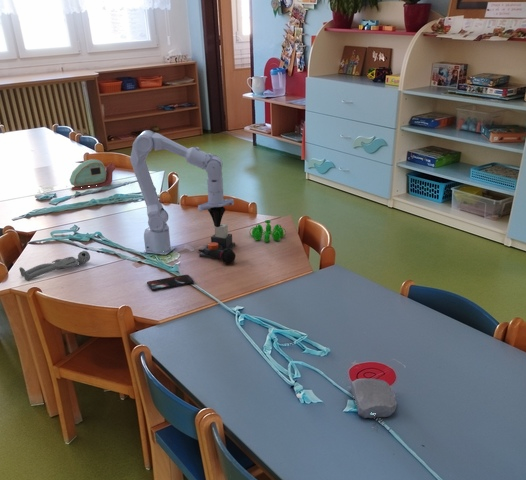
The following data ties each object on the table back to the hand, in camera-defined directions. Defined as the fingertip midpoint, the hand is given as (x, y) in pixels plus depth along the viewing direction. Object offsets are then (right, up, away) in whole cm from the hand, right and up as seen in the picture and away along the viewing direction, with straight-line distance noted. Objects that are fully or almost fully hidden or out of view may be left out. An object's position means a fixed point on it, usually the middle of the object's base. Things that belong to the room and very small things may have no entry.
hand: (217, 226), depth 220 cm
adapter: (0, -9, +5) cm, 10 cm away
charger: (+1, -4, +6) cm, 8 cm away
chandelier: (+19, -1, +18) cm, 26 cm away
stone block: (+44, -60, -82) cm, 111 cm away
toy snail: (-73, +40, +88) cm, 121 cm away
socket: (+1, -7, +8) cm, 11 cm away
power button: (-2, -8, 0) cm, 9 cm away
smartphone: (-14, -24, -22) cm, 35 cm away
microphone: (-1, -11, -3) cm, 11 cm away
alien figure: (-57, -19, -11) cm, 61 cm away
